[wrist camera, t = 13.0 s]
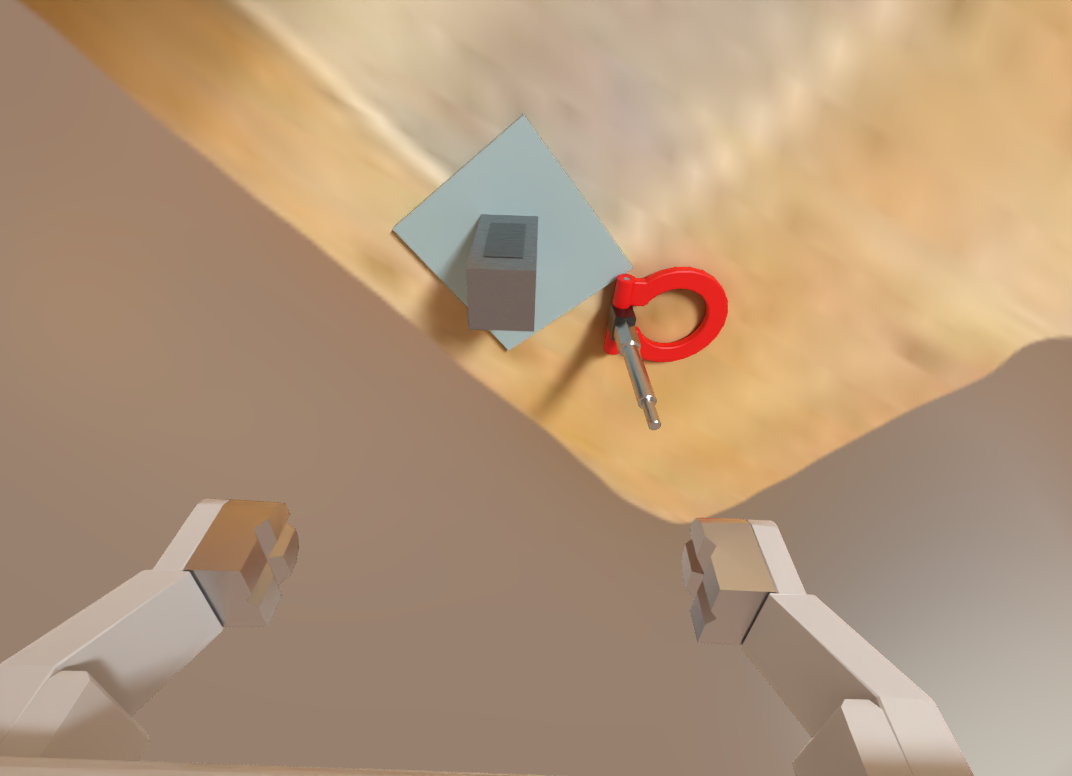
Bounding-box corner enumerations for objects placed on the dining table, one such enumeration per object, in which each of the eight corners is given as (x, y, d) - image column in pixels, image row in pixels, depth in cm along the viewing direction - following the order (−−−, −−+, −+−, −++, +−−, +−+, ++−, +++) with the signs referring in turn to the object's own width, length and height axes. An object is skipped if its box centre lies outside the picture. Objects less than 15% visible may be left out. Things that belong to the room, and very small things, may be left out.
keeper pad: (394, 226, 39) (392, 229, 38) (523, 113, 34) (523, 115, 34) (509, 346, 45) (508, 350, 45) (631, 264, 40) (632, 268, 40)
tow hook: (737, 265, 40) (616, 260, 39) (816, 375, 31) (657, 371, 30) (706, 355, 46) (599, 352, 45) (764, 472, 36) (628, 471, 35)
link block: (482, 268, 40) (468, 330, 33) (481, 213, 38) (465, 267, 31) (536, 269, 40) (534, 332, 33) (538, 215, 38) (536, 270, 31)
